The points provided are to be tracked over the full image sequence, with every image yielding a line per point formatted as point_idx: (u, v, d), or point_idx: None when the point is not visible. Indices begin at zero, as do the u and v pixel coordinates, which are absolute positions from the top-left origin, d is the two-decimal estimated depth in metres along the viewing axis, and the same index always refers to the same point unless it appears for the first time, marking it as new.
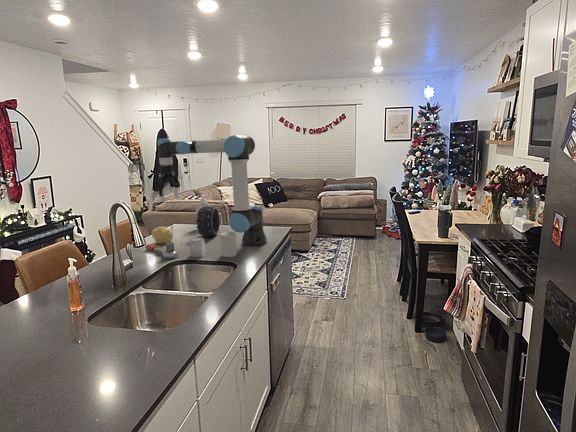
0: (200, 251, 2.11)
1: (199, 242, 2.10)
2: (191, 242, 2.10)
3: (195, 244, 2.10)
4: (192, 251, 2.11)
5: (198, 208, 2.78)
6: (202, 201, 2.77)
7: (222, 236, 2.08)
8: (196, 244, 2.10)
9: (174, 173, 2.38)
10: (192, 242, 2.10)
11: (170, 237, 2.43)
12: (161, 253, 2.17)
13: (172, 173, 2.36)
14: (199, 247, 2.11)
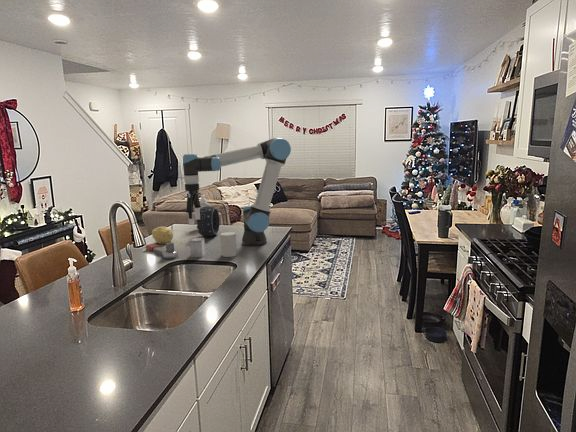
0: (200, 251, 2.11)
1: (199, 242, 2.10)
2: (191, 242, 2.10)
3: (195, 244, 2.10)
4: (192, 251, 2.11)
5: None
6: (202, 201, 2.77)
7: (222, 236, 2.08)
8: (196, 244, 2.10)
9: (197, 192, 2.14)
10: (192, 242, 2.10)
11: (170, 237, 2.43)
12: (161, 253, 2.17)
13: (196, 192, 2.12)
14: (199, 247, 2.11)
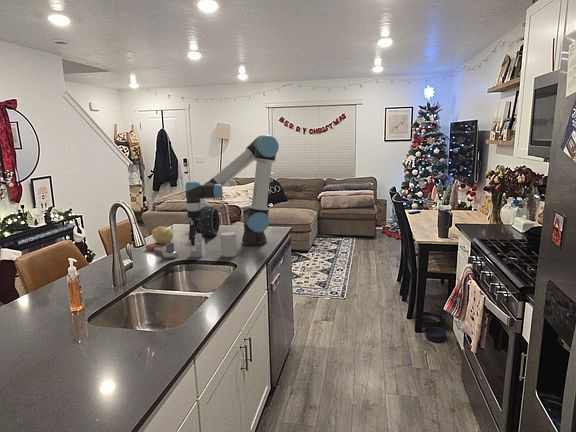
0: (200, 251, 2.11)
1: (199, 242, 2.10)
2: None
3: None
4: (192, 251, 2.11)
5: None
6: (202, 201, 2.77)
7: (222, 236, 2.08)
8: (196, 244, 2.10)
9: (199, 218, 2.17)
10: None
11: (170, 237, 2.43)
12: (161, 253, 2.17)
13: (198, 218, 2.15)
14: (199, 247, 2.11)
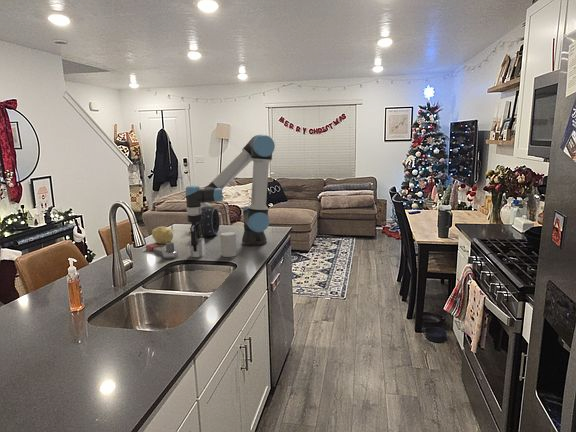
0: (200, 251, 2.11)
1: (199, 242, 2.10)
2: None
3: None
4: (192, 251, 2.11)
5: None
6: None
7: (222, 236, 2.08)
8: None
9: (199, 224, 2.17)
10: None
11: (170, 237, 2.43)
12: (161, 253, 2.17)
13: (198, 223, 2.15)
14: (199, 247, 2.11)
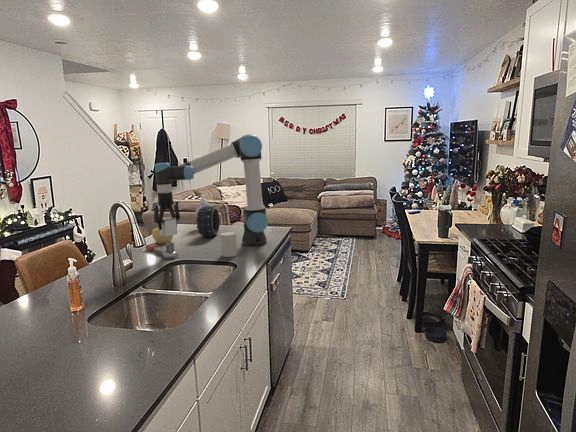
0: (164, 230, 2.06)
1: (163, 221, 2.05)
2: None
3: None
4: None
5: (198, 208, 2.78)
6: (202, 201, 2.77)
7: (222, 236, 2.08)
8: (162, 222, 2.07)
9: (176, 203, 2.10)
10: None
11: (170, 237, 2.43)
12: (161, 253, 2.17)
13: (173, 202, 2.09)
14: (164, 226, 2.06)
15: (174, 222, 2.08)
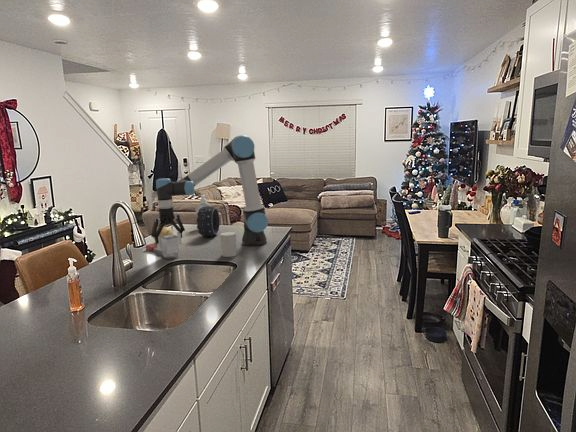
0: (166, 248, 2.08)
1: (165, 239, 2.07)
2: (161, 238, 2.10)
3: (163, 240, 2.09)
4: (162, 247, 2.11)
5: (198, 208, 2.78)
6: (202, 201, 2.77)
7: (222, 236, 2.08)
8: (164, 241, 2.08)
9: (177, 216, 2.12)
10: (162, 238, 2.10)
11: None
12: (161, 253, 2.17)
13: (174, 216, 2.11)
14: (165, 244, 2.08)
15: (176, 240, 2.10)
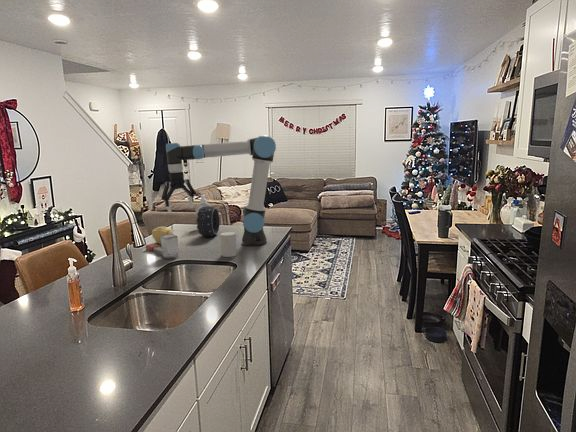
0: (166, 248, 2.08)
1: (165, 239, 2.07)
2: (161, 238, 2.10)
3: (163, 240, 2.09)
4: (162, 247, 2.11)
5: (198, 208, 2.78)
6: (202, 201, 2.77)
7: (222, 236, 2.08)
8: (164, 241, 2.08)
9: (187, 181, 2.15)
10: (162, 238, 2.10)
11: None
12: (161, 253, 2.17)
13: (184, 181, 2.13)
14: (165, 244, 2.08)
15: (176, 240, 2.10)
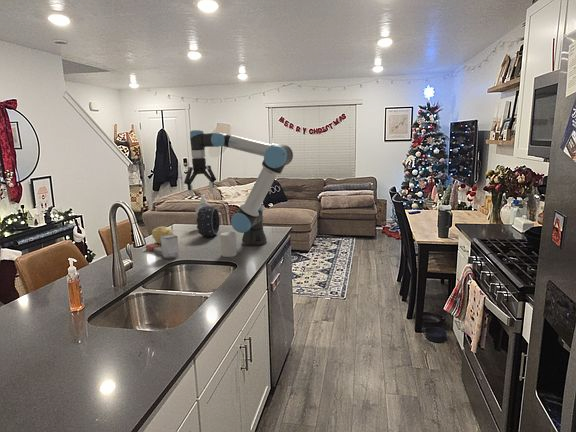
0: (166, 248, 2.08)
1: (165, 239, 2.07)
2: (161, 238, 2.10)
3: (163, 240, 2.09)
4: (162, 247, 2.11)
5: (198, 208, 2.78)
6: (202, 201, 2.77)
7: (222, 236, 2.08)
8: (164, 241, 2.08)
9: (208, 167, 2.25)
10: (162, 238, 2.10)
11: None
12: (161, 253, 2.17)
13: (205, 167, 2.24)
14: (165, 244, 2.08)
15: (176, 240, 2.10)
